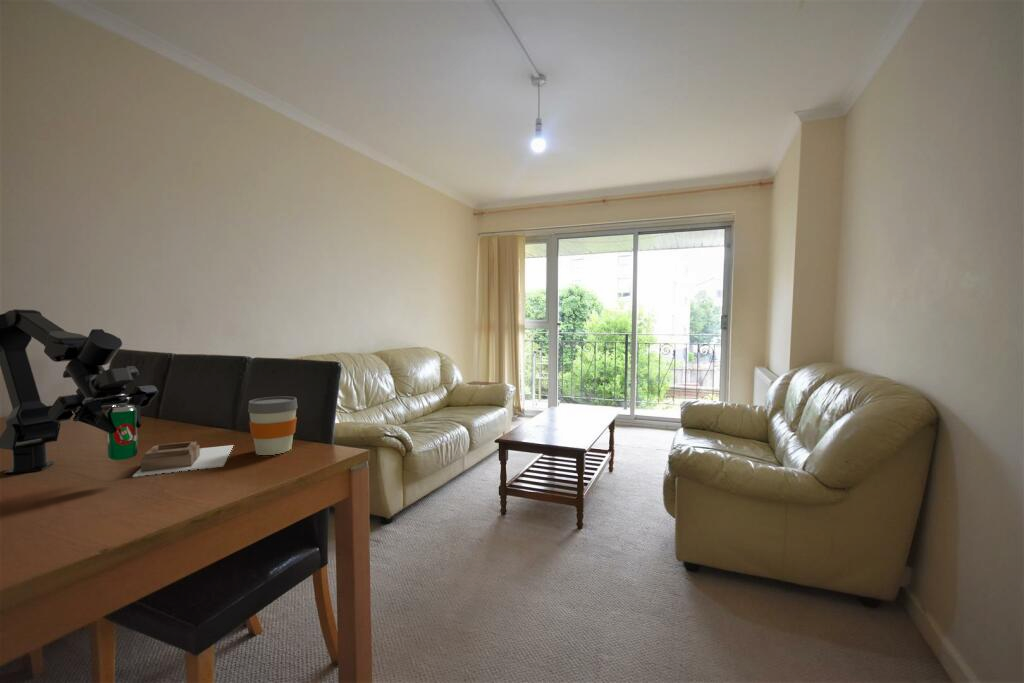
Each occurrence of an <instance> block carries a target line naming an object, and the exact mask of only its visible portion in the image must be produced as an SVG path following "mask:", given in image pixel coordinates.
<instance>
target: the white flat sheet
mask: <svg viewBox="0 0 1024 683" xmlns="http://www.w3.org/2000/svg"><path fill="white" fill-rule="evenodd" d="M233 446H234V447H235V445H234V444H230V445H220V446H211V447H201V448H200V456H199V457H198V458H197V460H196V461H195V462H194V464H193V465H192V466H189V467H181V468H172V469H163V470H155V471H146V472H145V471H144V472H141V467H140V468H139V469H138V470H137V471H136V472H135V473H134V474H133V475H132V478H139V476H140V477H146V476H145V475H149V476H154V475H155V474H157V475H163V474H162V473H165V474H172V473H171V472H174V473H179V471H180V473H181V471H182V472H188V470H190V471H196V470H197V469H199V470H206V468H207V469H213V468H222V467H224V466H225V464H226V462H227V460H228V459H229V457H230V455H231V453H232V451H233V449H234V448H233ZM232 448H233V449H232ZM231 450H232V451H231ZM230 452H231V453H230ZM229 454H230V455H229ZM228 456H229V457H228ZM227 458H228V459H227ZM197 471H198V470H197ZM155 476H156V475H155Z"/></svg>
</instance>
